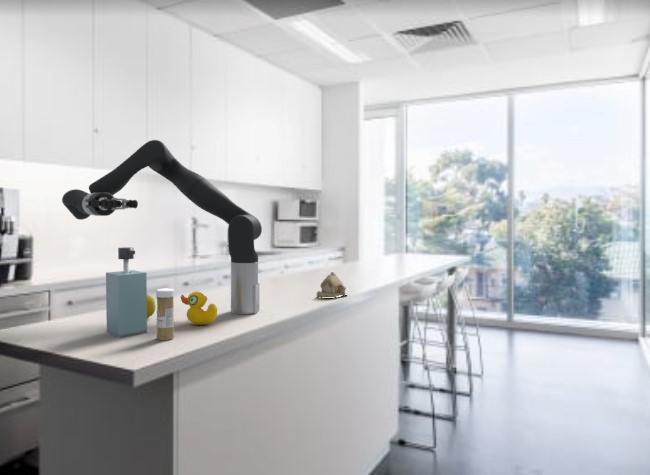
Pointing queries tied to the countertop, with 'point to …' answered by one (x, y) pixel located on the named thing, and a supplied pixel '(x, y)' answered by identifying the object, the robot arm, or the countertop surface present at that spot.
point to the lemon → (150, 306)
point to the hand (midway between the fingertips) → (122, 203)
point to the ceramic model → (331, 287)
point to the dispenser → (126, 303)
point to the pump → (126, 257)
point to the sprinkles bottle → (165, 314)
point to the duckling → (199, 309)
